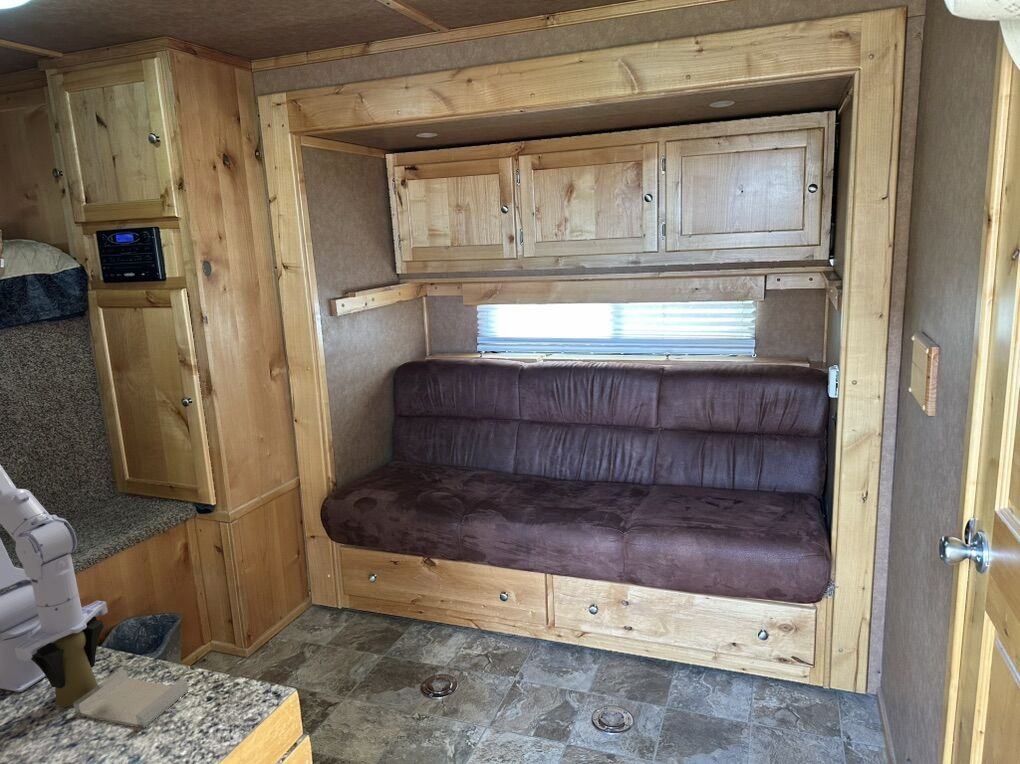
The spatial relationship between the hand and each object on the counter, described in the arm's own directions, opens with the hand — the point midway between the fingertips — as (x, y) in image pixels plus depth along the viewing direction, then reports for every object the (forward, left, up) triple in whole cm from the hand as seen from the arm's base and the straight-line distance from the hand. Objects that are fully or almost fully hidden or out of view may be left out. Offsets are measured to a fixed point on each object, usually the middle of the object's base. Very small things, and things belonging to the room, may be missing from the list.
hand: (73, 675), depth 115 cm
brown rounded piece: (0, 0, -4) cm, 4 cm away
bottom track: (+11, +1, -3) cm, 12 cm away
